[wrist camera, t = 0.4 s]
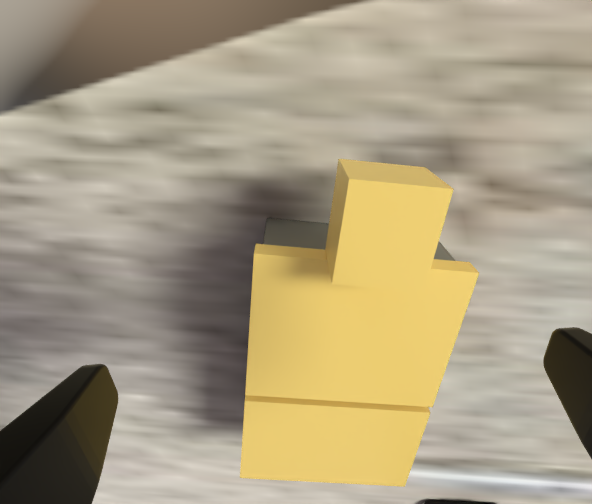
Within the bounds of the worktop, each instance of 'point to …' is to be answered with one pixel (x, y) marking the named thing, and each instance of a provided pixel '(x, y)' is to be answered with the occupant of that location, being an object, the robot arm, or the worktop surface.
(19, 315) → the worktop surface
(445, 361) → the lid end segment
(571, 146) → the worktop surface
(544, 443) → the worktop surface
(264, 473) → the parts tub
